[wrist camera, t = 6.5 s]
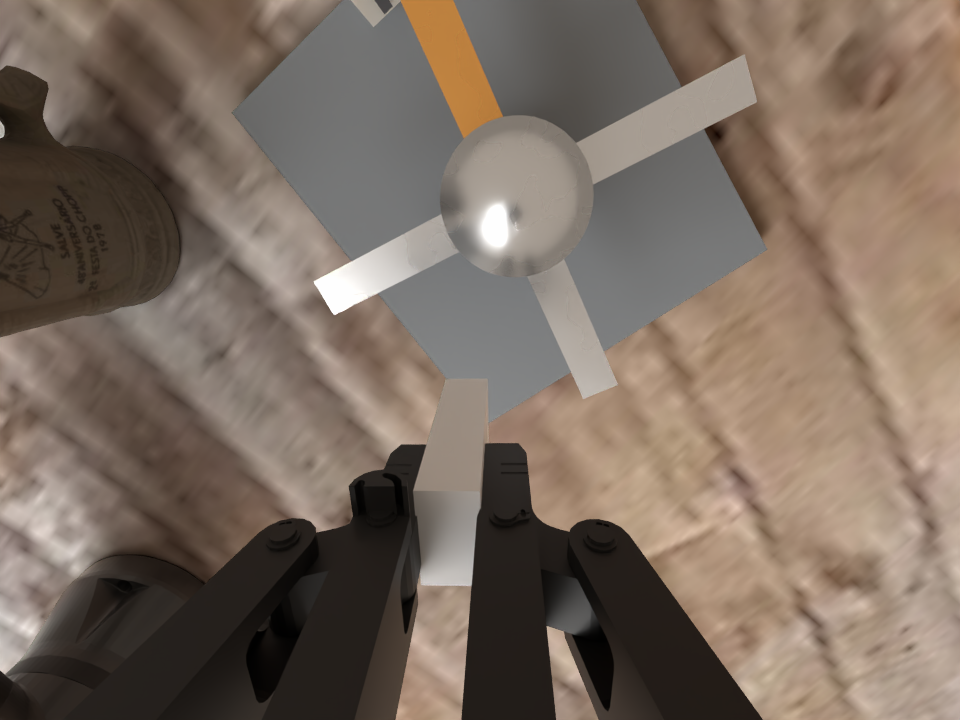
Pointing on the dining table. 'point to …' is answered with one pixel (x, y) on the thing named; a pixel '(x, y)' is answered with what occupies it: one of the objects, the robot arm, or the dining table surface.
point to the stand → (435, 135)
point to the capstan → (527, 186)
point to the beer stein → (72, 221)
